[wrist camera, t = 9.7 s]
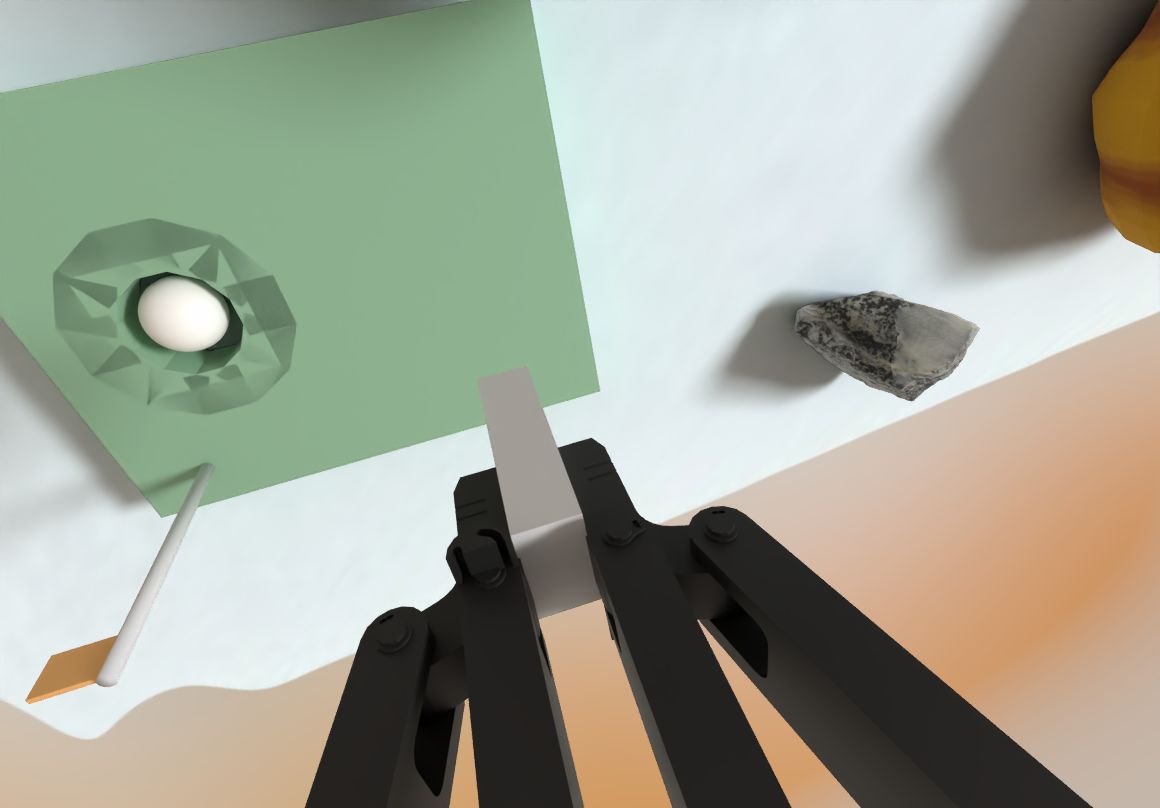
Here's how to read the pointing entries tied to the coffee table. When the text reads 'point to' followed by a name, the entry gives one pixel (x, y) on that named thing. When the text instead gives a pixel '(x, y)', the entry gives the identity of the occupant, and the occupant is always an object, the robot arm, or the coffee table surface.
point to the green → (291, 255)
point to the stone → (887, 340)
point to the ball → (183, 313)
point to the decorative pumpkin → (1132, 138)
